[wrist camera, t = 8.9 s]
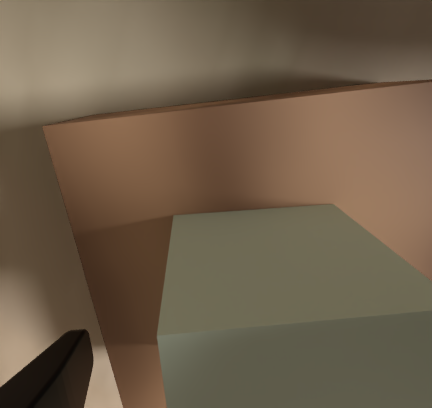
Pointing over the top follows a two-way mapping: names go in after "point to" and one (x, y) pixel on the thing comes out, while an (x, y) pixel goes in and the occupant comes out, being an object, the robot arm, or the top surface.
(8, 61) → the top surface
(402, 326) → the sage green block
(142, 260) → the walnut block
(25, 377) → the robot arm
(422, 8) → the top surface
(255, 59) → the top surface
